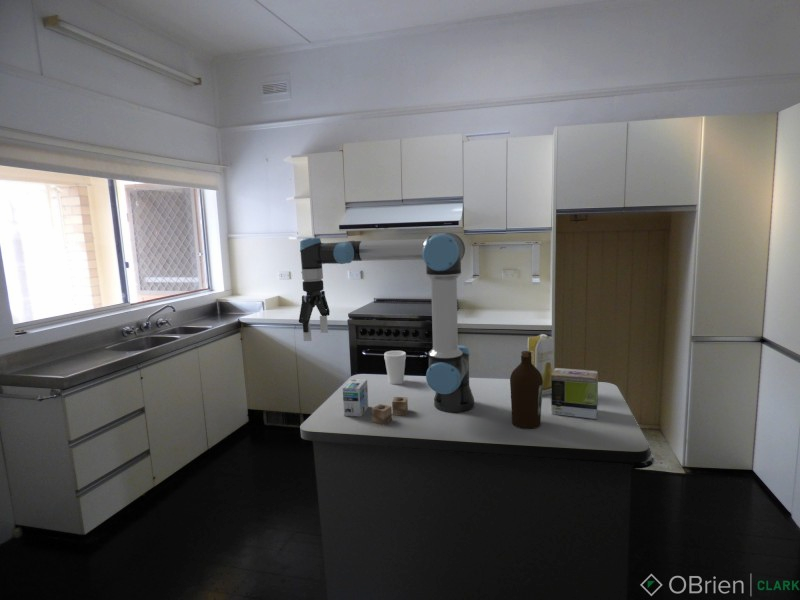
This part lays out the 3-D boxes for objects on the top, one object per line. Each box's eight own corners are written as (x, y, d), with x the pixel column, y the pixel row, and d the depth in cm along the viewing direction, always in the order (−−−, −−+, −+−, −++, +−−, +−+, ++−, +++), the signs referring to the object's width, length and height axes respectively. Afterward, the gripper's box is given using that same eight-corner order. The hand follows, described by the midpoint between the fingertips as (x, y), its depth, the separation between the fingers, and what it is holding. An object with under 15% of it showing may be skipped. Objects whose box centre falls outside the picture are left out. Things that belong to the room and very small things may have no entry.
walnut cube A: (407, 409, 180) (407, 396, 179) (406, 415, 175) (405, 401, 174) (394, 409, 180) (394, 396, 179) (392, 414, 175) (392, 401, 175)
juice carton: (539, 398, 187) (539, 337, 183) (524, 392, 193) (524, 334, 190) (556, 393, 191) (556, 334, 188) (541, 387, 198) (541, 330, 194)
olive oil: (510, 429, 159) (509, 355, 156) (510, 416, 170) (510, 347, 166) (543, 431, 157) (544, 356, 153) (541, 418, 167) (542, 348, 164)
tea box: (597, 409, 173) (598, 370, 171) (596, 420, 164) (597, 378, 162) (554, 404, 179) (554, 366, 177) (550, 414, 170) (550, 374, 168)
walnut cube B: (391, 419, 171) (391, 405, 170) (384, 424, 167) (383, 410, 166) (380, 417, 174) (379, 403, 173) (372, 422, 169) (371, 408, 169)
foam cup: (387, 378, 217) (386, 350, 215) (407, 378, 216) (406, 350, 214) (383, 385, 208) (382, 356, 206) (405, 385, 207) (404, 356, 205)
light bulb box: (361, 417, 174) (359, 388, 173) (343, 416, 176) (341, 387, 174) (368, 406, 185) (367, 379, 183) (352, 405, 186) (350, 378, 184)
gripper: (318, 276, 190) (322, 329, 193) (286, 284, 166) (290, 344, 170) (336, 276, 188) (339, 329, 191) (305, 284, 164) (309, 344, 167)
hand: (316, 336), depth 180 cm, fingers open, 13 cm apart
